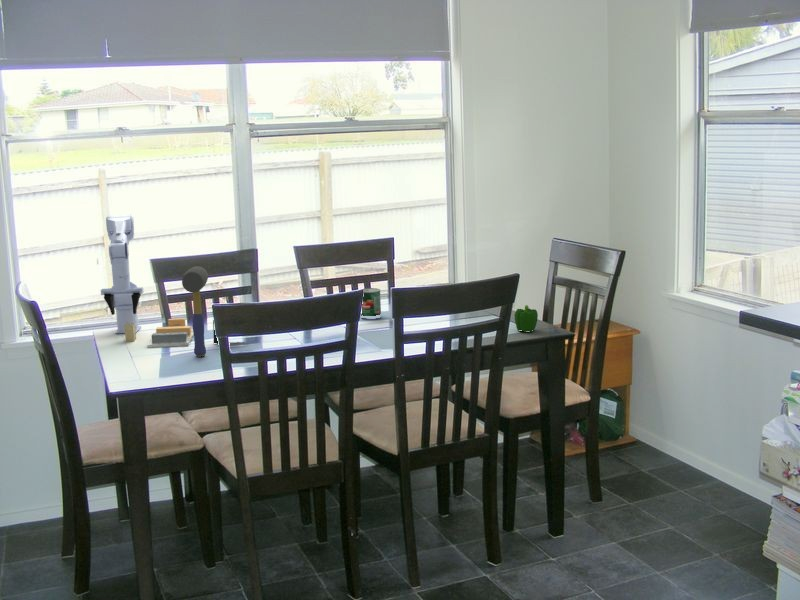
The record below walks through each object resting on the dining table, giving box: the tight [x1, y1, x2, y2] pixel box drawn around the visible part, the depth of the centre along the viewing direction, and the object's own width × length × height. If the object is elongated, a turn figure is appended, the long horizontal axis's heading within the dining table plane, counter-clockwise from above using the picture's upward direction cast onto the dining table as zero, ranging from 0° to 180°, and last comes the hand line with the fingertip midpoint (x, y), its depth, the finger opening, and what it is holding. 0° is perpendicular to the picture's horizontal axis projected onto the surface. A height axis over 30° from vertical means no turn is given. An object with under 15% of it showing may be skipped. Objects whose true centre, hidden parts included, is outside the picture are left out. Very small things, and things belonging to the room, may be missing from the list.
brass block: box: [124, 323, 137, 343], centre depth 334 cm, size 4×3×6 cm
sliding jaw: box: [155, 317, 192, 334], centre depth 341 cm, size 10×12×4 cm
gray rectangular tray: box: [147, 327, 194, 349], centre depth 335 cm, size 24×14×4 cm, turn 5°
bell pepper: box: [514, 304, 539, 332], centre depth 333 cm, size 8×8×10 cm
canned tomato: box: [360, 287, 382, 317], centre depth 361 cm, size 8×8×11 cm
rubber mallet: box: [181, 265, 209, 358], centre depth 307 cm, size 12×8×30 cm, turn 3°
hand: (124, 313), depth 332 cm, fingers open, 7 cm apart
